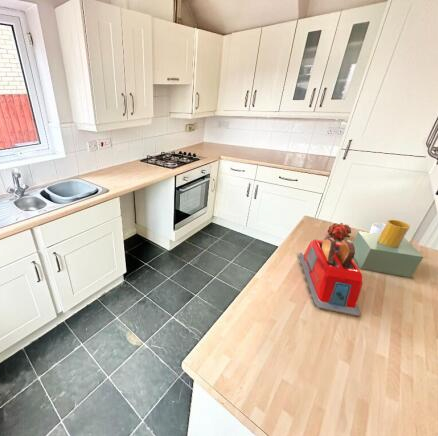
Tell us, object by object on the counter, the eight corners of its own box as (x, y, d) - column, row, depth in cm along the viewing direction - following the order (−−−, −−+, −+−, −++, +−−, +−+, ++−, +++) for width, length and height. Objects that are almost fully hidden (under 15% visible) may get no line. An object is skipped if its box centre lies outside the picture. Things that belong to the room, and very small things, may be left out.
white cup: (369, 248, 111) (378, 230, 106) (360, 239, 118) (368, 221, 113) (389, 251, 109) (400, 232, 105) (379, 241, 116) (388, 223, 111)
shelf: (393, 256, 106) (404, 237, 101) (410, 277, 94) (423, 257, 90) (349, 249, 111) (358, 231, 106) (360, 268, 99) (370, 248, 95)
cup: (394, 240, 99) (404, 221, 95) (402, 248, 94) (413, 229, 90) (374, 237, 102) (384, 218, 97) (381, 245, 96) (392, 226, 92)
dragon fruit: (345, 238, 122) (328, 246, 119) (334, 224, 125) (317, 231, 122) (360, 232, 114) (342, 241, 111) (348, 217, 117) (330, 225, 114)
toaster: (361, 318, 78) (387, 274, 69) (315, 308, 82) (335, 265, 73) (331, 259, 105) (347, 221, 96) (297, 254, 109) (310, 217, 100)
